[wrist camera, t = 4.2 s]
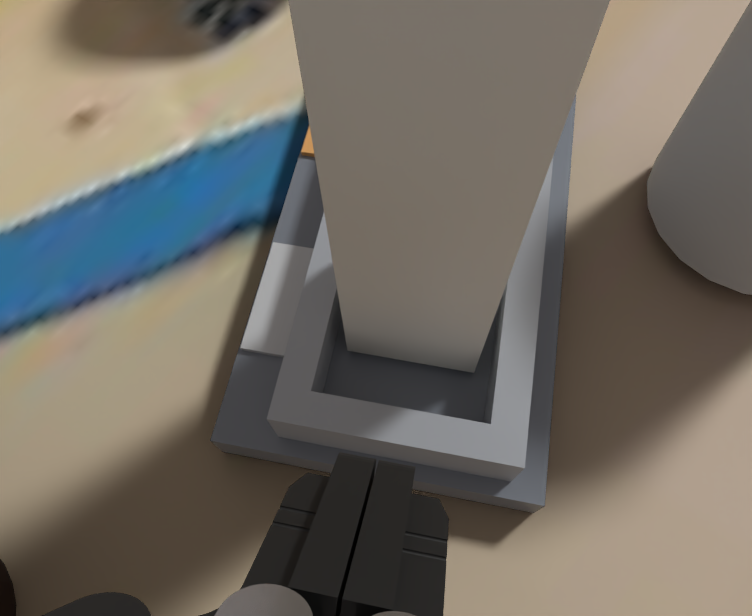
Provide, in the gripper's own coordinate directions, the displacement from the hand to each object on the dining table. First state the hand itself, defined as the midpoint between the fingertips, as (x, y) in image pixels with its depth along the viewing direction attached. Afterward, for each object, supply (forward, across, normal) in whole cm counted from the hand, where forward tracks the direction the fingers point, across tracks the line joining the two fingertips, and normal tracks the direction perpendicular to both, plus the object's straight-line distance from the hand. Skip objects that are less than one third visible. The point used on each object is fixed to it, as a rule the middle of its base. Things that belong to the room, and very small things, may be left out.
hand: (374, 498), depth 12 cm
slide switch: (+13, 0, +2) cm, 13 cm away
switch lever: (+9, 0, +1) cm, 9 cm away
